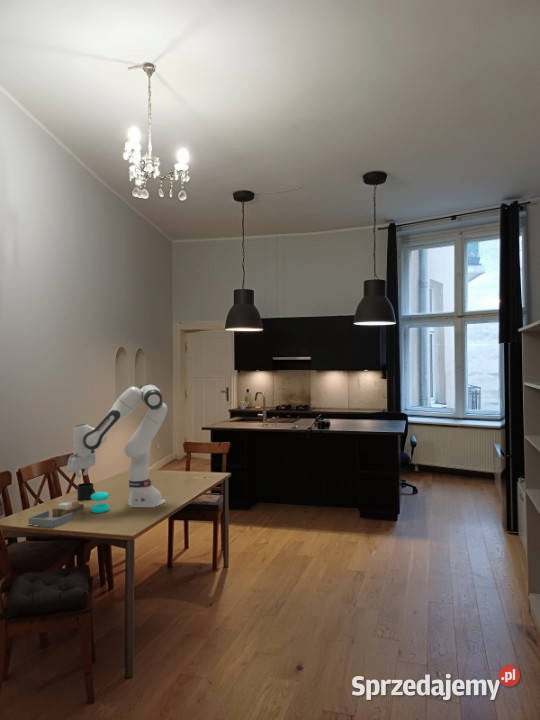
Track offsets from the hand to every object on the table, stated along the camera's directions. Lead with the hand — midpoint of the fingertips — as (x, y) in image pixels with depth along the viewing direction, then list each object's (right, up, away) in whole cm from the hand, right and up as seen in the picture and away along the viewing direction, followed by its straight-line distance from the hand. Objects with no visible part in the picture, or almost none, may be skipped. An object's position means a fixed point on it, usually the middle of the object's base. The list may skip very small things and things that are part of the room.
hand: (82, 476), depth 301 cm
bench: (-3, -19, -11) cm, 23 cm away
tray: (-8, -19, -24) cm, 32 cm away
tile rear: (-3, -14, -8) cm, 17 cm away
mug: (-5, -20, +23) cm, 31 cm away
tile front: (-4, -14, -13) cm, 20 cm away
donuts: (+12, -19, -4) cm, 23 cm away
